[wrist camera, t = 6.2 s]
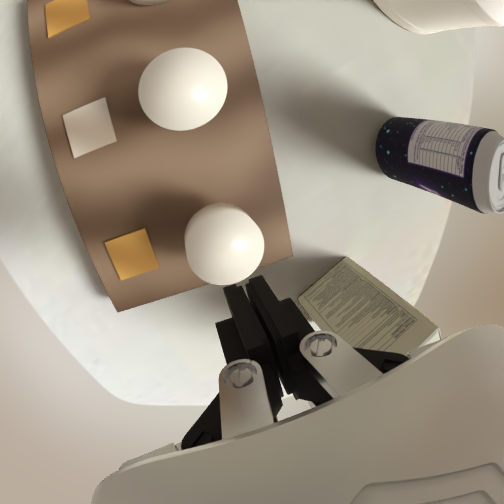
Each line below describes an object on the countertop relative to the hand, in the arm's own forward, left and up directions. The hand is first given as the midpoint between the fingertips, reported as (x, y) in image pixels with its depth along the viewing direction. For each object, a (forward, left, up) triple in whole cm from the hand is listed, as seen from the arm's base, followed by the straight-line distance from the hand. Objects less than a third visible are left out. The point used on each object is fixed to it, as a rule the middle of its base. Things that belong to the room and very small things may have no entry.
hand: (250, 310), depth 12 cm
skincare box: (+9, +9, -11) cm, 17 cm away
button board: (-10, -2, -11) cm, 15 cm away
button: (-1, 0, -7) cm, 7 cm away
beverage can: (-3, +17, -11) cm, 21 cm away
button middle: (-10, 0, -7) cm, 12 cm away
